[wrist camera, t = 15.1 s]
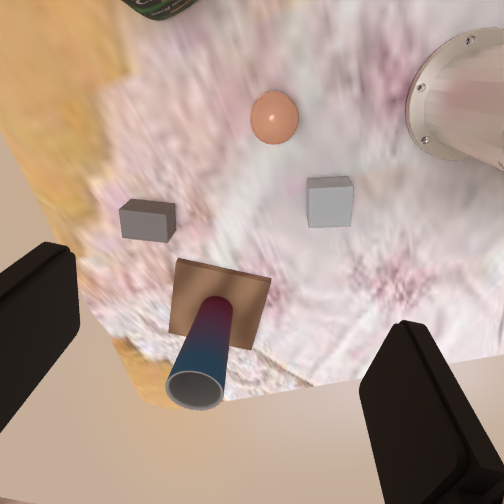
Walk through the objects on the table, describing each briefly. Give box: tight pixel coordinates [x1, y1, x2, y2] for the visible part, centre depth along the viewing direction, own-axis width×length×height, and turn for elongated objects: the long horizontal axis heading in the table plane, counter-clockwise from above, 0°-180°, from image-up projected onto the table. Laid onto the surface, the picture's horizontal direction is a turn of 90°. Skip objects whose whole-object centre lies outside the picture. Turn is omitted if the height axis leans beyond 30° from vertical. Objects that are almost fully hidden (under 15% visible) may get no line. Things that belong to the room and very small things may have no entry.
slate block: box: [307, 177, 354, 228], centre depth 40 cm, size 5×5×4 cm
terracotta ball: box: [251, 91, 299, 144], centre depth 36 cm, size 5×5×4 cm
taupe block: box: [119, 199, 176, 243], centre depth 43 cm, size 6×4×4 cm, turn 85°
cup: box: [165, 296, 233, 410], centre depth 44 cm, size 7×7×15 cm
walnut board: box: [168, 258, 271, 350], centre depth 51 cm, size 14×14×1 cm
